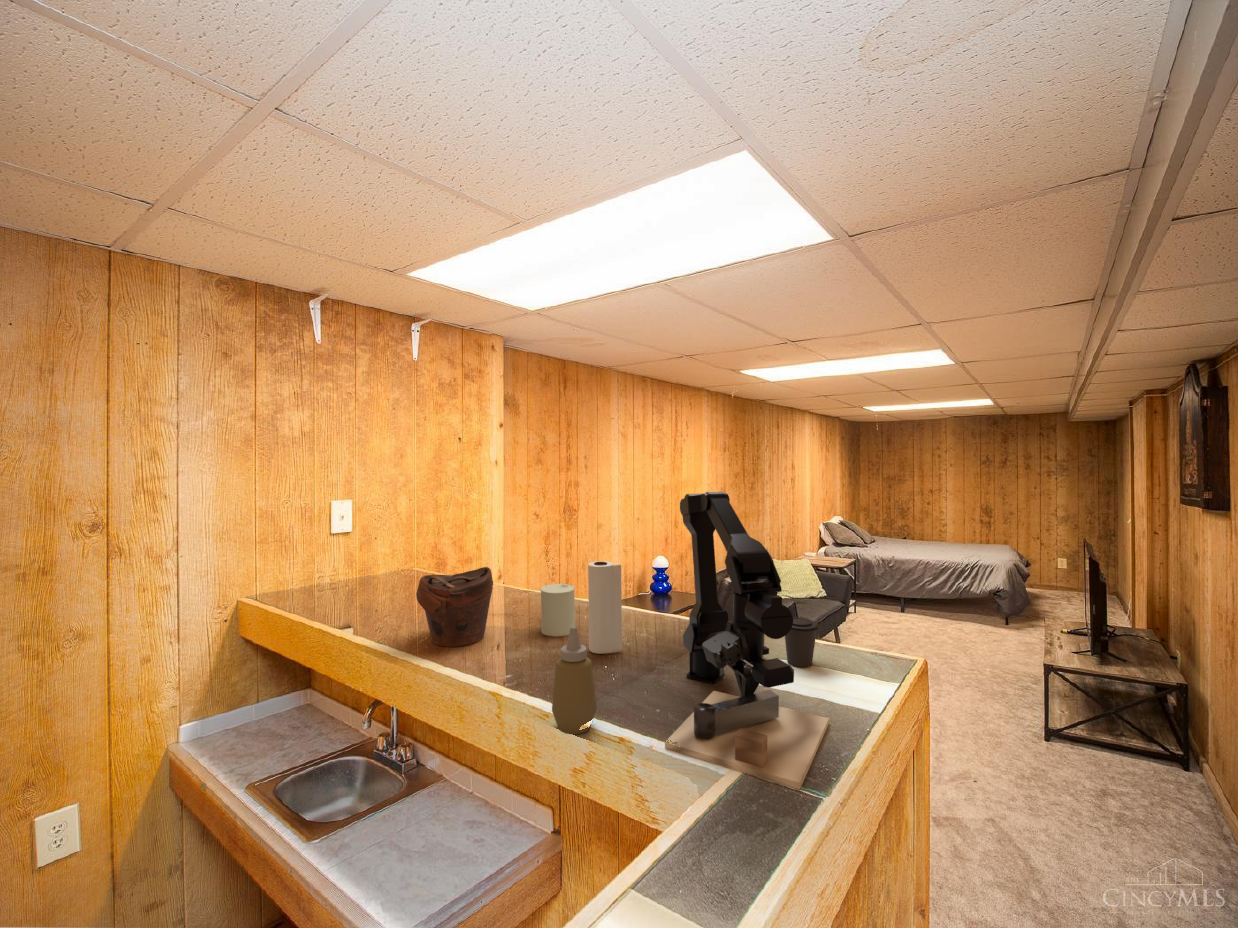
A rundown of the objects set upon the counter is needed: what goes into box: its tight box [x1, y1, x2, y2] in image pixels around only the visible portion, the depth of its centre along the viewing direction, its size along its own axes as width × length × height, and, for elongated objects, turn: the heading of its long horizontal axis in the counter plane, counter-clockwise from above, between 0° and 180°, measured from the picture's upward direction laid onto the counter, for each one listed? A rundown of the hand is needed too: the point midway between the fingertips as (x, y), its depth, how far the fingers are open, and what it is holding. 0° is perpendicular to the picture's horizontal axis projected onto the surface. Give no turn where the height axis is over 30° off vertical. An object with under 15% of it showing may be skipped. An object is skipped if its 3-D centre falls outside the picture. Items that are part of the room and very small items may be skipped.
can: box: [540, 583, 576, 638], centre depth 151 cm, size 9×9×12 cm
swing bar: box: [693, 689, 780, 739], centre depth 99 cm, size 17×4×4 cm, turn 115°
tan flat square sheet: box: [664, 690, 830, 790], centre depth 98 cm, size 22×22×1 cm
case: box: [415, 566, 494, 648], centre depth 145 cm, size 18×20×18 cm
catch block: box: [735, 728, 767, 768], centre depth 89 cm, size 4×2×4 cm, turn 59°
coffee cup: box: [784, 617, 820, 669], centre depth 129 cm, size 8×8×10 cm
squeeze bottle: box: [551, 626, 597, 735], centre depth 101 cm, size 8×8×18 cm
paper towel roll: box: [587, 560, 623, 655], centre depth 137 cm, size 7×6×21 cm
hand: (746, 702), depth 102 cm, fingers closed
